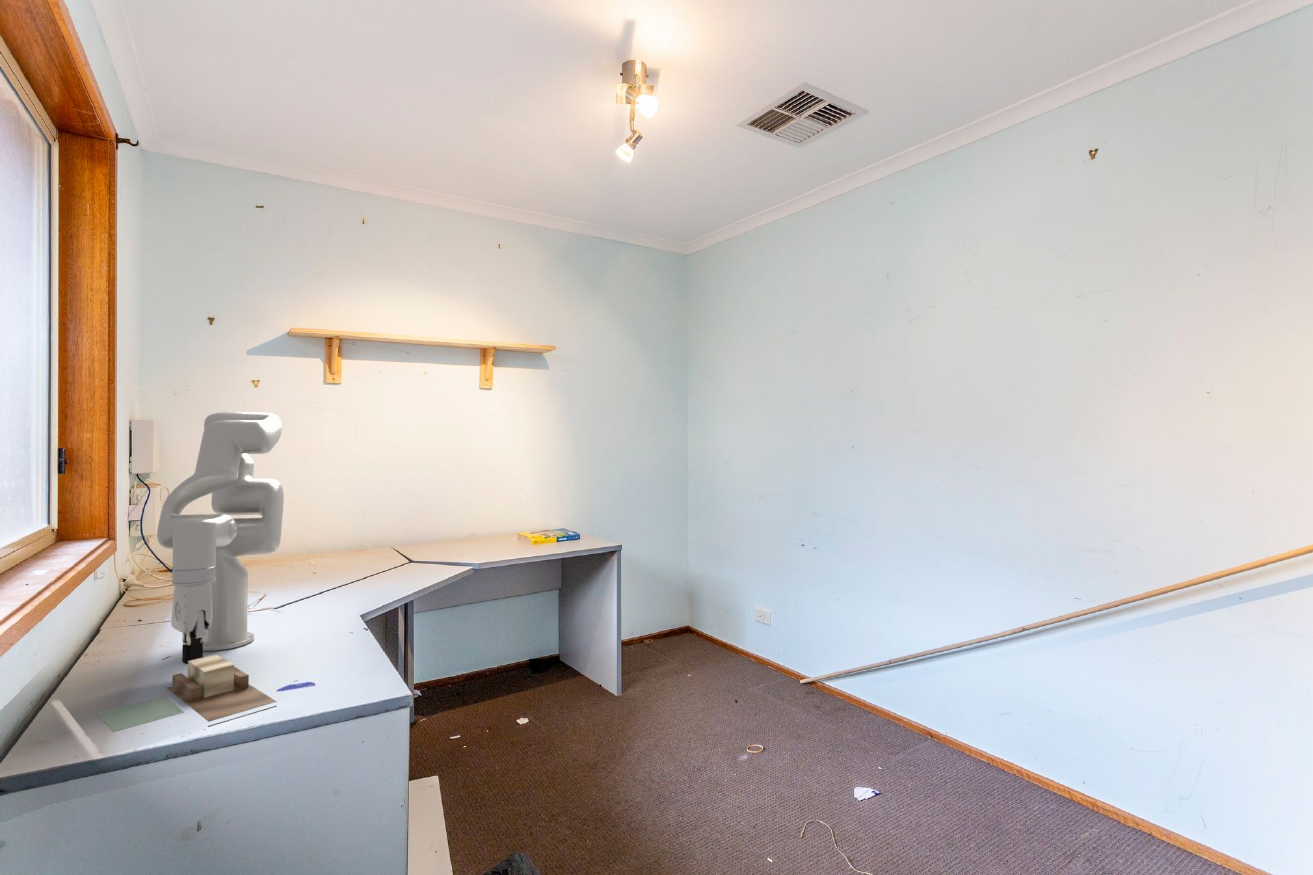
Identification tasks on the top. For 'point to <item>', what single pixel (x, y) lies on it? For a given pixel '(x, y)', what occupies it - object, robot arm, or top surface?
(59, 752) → the top surface
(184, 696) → the holder
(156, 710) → the mat
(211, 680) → the block
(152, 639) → the top surface
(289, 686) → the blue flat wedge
